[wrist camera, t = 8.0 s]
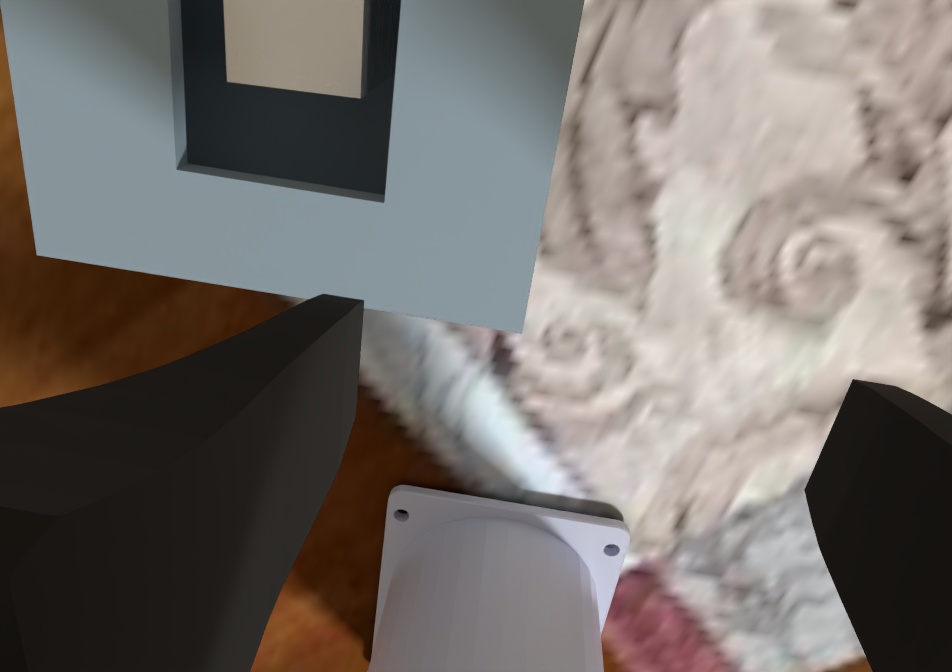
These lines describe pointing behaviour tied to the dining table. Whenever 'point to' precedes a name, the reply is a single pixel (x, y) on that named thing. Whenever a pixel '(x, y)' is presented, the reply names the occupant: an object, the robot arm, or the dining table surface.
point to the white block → (312, 44)
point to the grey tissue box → (297, 154)
